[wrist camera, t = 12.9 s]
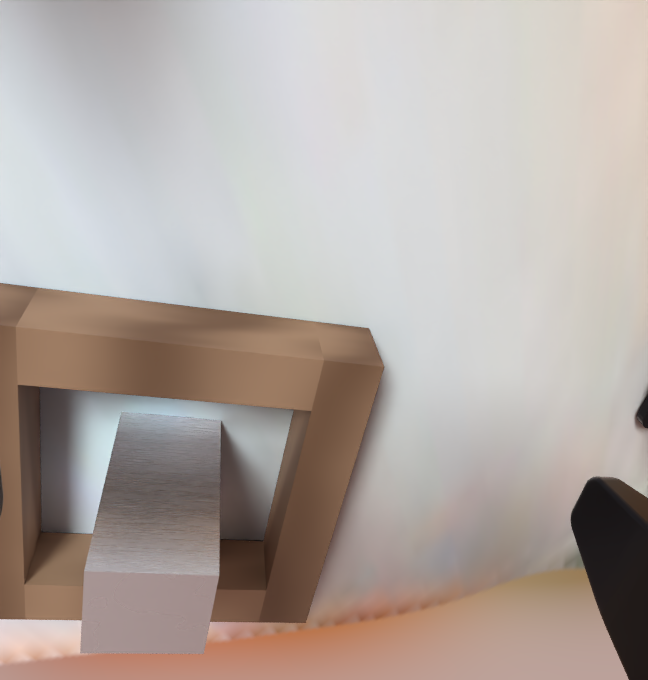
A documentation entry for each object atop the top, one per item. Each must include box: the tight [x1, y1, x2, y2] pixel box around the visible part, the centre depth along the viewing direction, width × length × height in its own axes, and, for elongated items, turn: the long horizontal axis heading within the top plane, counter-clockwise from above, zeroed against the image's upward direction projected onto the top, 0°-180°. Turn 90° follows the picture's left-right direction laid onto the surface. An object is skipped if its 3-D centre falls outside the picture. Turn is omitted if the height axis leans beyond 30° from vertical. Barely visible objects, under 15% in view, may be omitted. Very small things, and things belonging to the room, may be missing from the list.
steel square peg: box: [80, 412, 221, 654], centre depth 21 cm, size 4×4×7 cm
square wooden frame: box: [0, 283, 384, 623], centre depth 23 cm, size 13×13×2 cm
